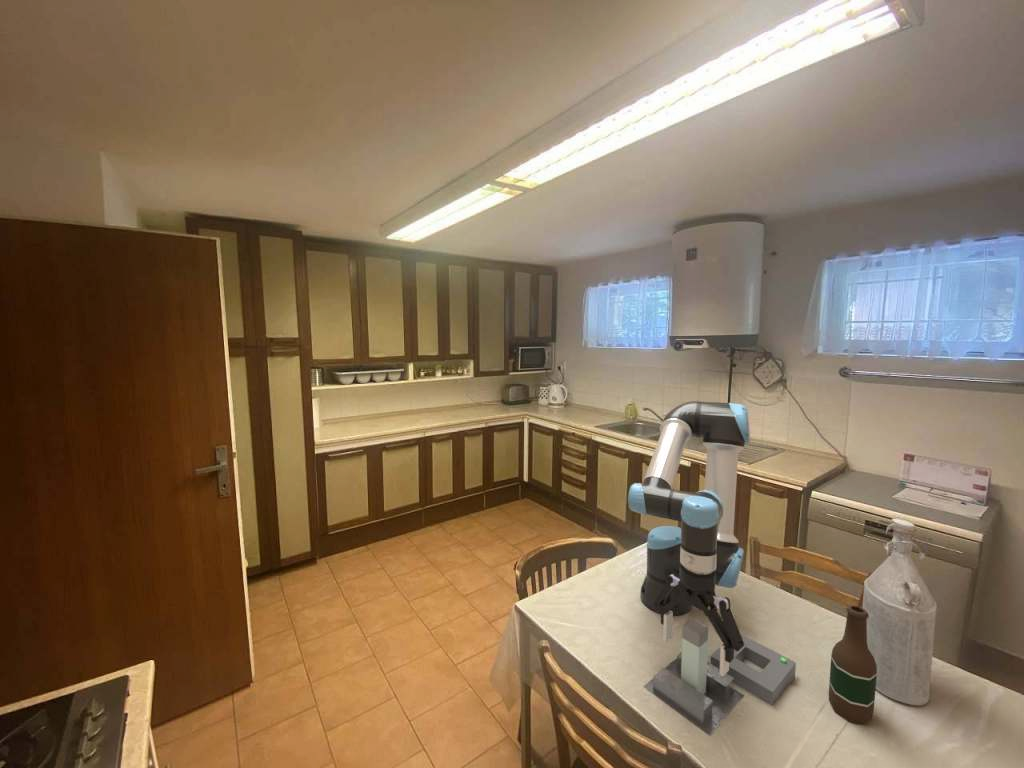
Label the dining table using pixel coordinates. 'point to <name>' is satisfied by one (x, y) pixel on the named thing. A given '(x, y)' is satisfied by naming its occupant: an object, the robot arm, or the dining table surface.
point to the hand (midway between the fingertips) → (694, 654)
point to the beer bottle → (853, 671)
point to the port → (763, 683)
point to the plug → (694, 655)
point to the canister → (900, 620)
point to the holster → (696, 695)
